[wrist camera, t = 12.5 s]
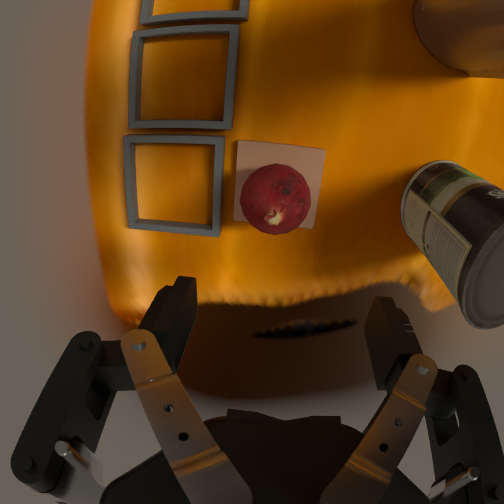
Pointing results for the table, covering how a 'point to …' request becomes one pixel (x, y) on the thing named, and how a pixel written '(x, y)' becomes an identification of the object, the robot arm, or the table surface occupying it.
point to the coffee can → (460, 236)
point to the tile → (268, 153)
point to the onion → (275, 199)
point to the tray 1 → (191, 14)
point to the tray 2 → (137, 71)
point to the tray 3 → (172, 226)
